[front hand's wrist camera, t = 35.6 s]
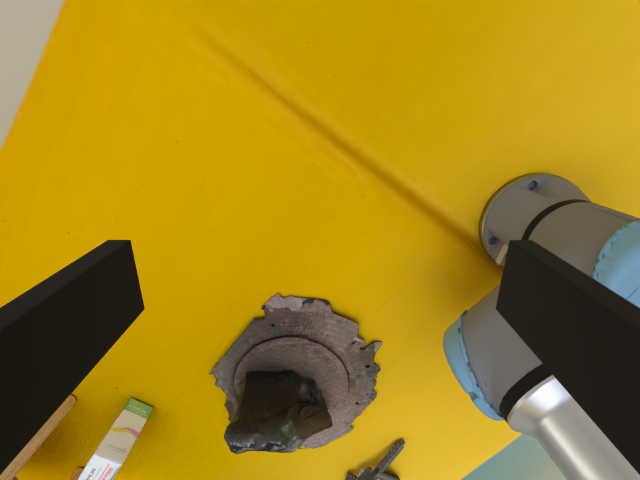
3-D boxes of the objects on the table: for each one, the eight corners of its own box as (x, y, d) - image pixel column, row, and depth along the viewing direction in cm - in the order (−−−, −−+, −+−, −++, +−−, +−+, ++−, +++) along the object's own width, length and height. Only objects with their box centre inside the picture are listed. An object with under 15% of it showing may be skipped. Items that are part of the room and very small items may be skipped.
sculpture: (164, 365, 64) (117, 444, 49) (320, 263, 57) (320, 319, 42) (276, 468, 74) (265, 560, 59) (422, 392, 66) (451, 475, 51)
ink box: (130, 395, 67) (81, 471, 53) (154, 407, 68) (112, 484, 54) (113, 424, 69) (61, 503, 55) (136, 434, 70) (91, 515, 56)
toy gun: (357, 513, 75) (394, 544, 67) (334, 507, 71) (371, 539, 63) (386, 431, 81) (423, 450, 74) (366, 421, 77) (403, 440, 70)
